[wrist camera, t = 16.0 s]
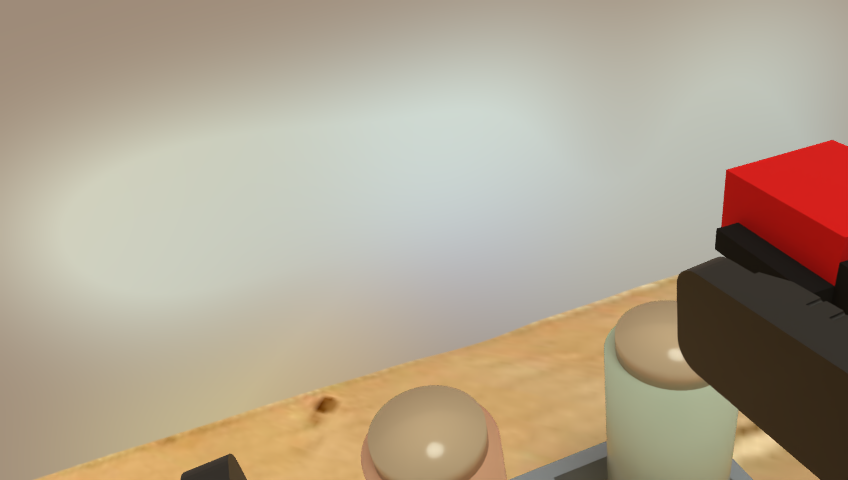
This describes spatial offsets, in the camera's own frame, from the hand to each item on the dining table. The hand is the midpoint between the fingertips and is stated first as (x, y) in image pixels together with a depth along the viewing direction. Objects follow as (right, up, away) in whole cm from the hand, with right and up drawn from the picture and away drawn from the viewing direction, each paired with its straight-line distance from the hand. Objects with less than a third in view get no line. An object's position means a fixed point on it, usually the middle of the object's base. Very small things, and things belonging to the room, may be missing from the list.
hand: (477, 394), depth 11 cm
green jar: (+13, -14, +26) cm, 32 cm away
